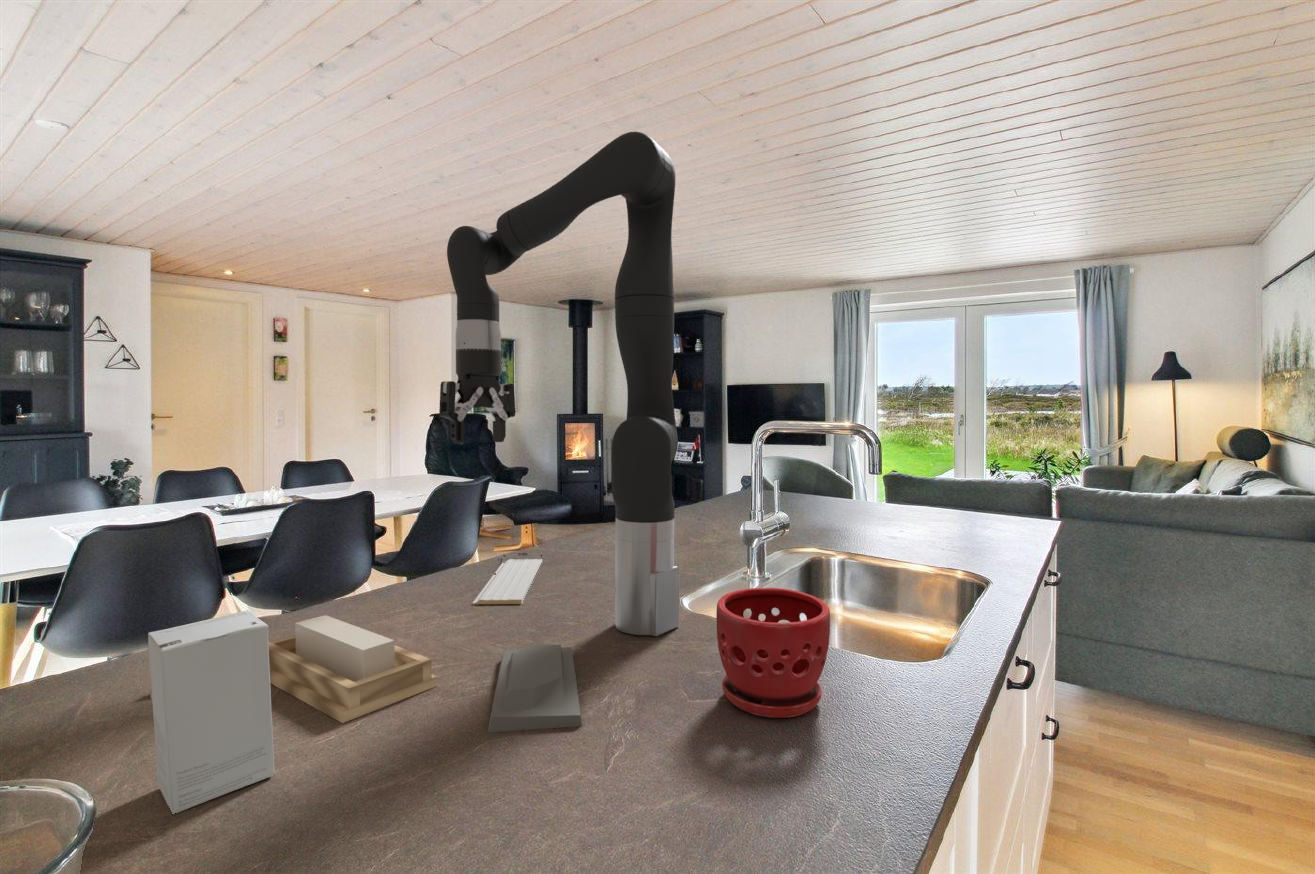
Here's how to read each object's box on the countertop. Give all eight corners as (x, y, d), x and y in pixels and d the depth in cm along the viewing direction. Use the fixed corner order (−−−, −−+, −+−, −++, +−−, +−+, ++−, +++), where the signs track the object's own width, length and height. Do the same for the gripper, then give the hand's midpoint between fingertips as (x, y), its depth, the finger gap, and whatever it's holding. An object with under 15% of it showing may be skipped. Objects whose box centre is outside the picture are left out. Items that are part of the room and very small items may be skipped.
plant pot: (696, 689, 81) (697, 593, 81) (786, 672, 86) (788, 582, 86) (751, 738, 69) (753, 626, 69) (852, 716, 74) (854, 611, 74)
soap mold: (485, 738, 70) (485, 705, 70) (500, 664, 90) (500, 639, 90) (583, 731, 72) (583, 699, 72) (576, 660, 91) (576, 635, 91)
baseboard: (463, 608, 114) (521, 607, 115) (463, 592, 114) (522, 591, 115) (496, 565, 145) (542, 565, 145) (496, 552, 144) (542, 552, 145)
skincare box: (256, 755, 65) (252, 607, 65) (277, 779, 61) (273, 621, 61) (151, 790, 59) (145, 628, 58) (166, 820, 55) (160, 645, 54)
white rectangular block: (394, 680, 80) (394, 640, 80) (363, 692, 77) (363, 650, 77) (326, 651, 89) (325, 614, 89) (295, 660, 86) (295, 622, 86)
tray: (437, 685, 82) (437, 657, 81) (342, 723, 72) (342, 690, 72) (343, 646, 95) (343, 621, 94) (253, 673, 85) (252, 645, 85)
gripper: (457, 344, 105) (458, 445, 106) (524, 350, 117) (525, 442, 117) (429, 346, 110) (430, 444, 110) (496, 352, 121) (497, 440, 122)
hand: (479, 442), depth 114 cm, fingers open, 8 cm apart
